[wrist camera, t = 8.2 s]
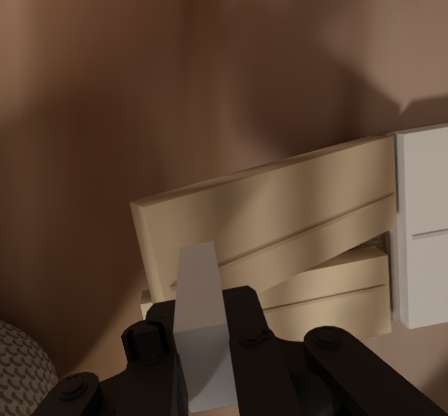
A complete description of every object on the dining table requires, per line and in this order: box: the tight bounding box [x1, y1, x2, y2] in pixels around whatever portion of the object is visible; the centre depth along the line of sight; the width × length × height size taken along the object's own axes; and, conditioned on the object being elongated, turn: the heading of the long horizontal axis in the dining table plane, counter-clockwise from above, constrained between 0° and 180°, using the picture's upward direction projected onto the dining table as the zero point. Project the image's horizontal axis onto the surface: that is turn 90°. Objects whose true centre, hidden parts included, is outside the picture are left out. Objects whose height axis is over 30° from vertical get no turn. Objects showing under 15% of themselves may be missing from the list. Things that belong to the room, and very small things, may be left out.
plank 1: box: [129, 135, 397, 304], centre depth 23 cm, size 18×6×2 cm, turn 99°
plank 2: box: [140, 246, 391, 341], centre depth 28 cm, size 18×6×2 cm, turn 98°
